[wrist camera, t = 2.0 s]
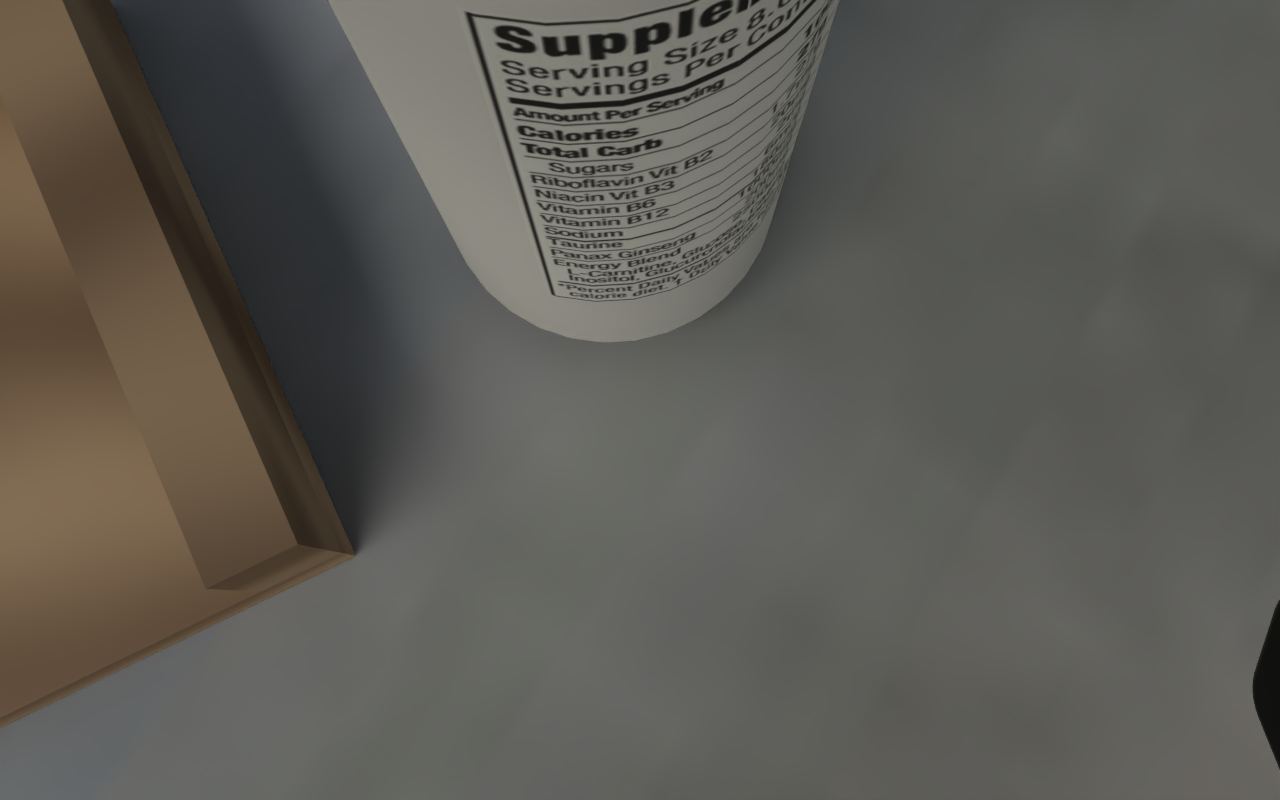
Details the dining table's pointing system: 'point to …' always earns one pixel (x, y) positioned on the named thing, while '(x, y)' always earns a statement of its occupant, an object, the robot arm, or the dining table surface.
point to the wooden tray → (125, 381)
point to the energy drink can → (598, 142)
